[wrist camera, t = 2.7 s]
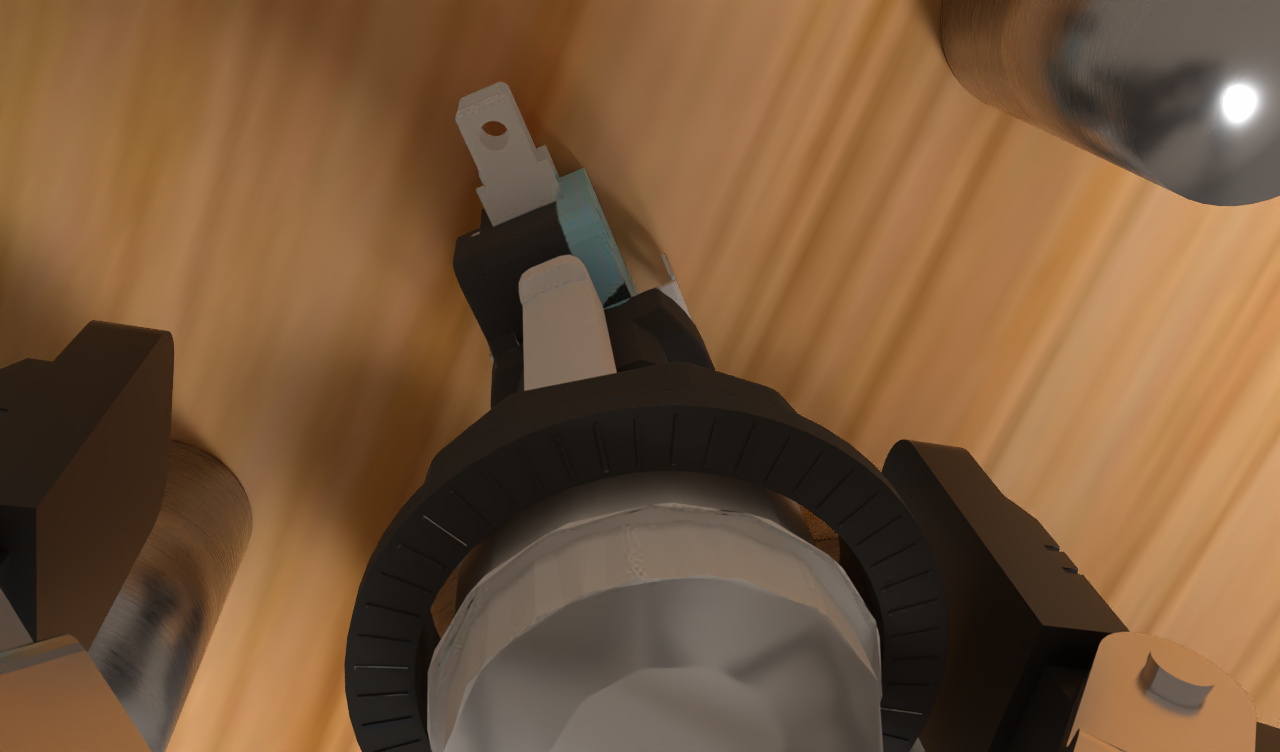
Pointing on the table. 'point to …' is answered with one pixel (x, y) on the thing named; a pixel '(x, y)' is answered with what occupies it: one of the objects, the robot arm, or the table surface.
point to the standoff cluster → (989, 70)
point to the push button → (631, 526)
